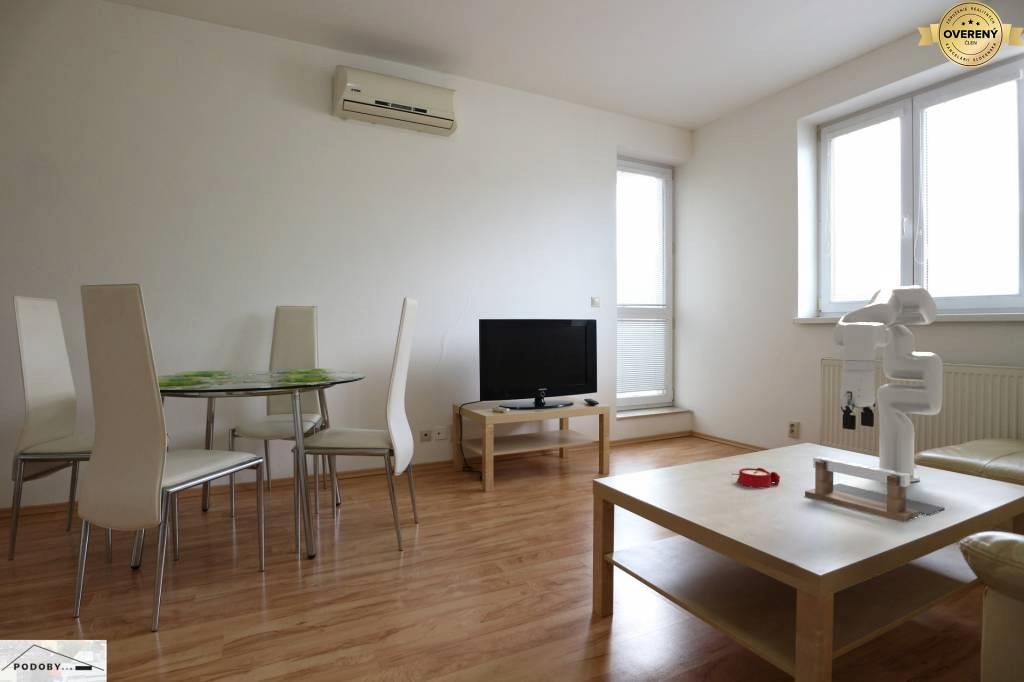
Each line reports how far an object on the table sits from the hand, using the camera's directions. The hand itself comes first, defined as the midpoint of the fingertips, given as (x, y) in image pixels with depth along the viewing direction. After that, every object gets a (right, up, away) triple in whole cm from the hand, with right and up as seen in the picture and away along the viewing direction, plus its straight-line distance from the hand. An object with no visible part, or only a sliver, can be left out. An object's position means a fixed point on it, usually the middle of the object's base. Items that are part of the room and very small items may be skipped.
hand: (858, 427), depth 151 cm
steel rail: (0, -14, 0) cm, 14 cm away
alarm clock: (-17, -22, +24) cm, 37 cm away
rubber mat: (+11, -22, +6) cm, 25 cm away
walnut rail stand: (0, -22, 0) cm, 22 cm away
